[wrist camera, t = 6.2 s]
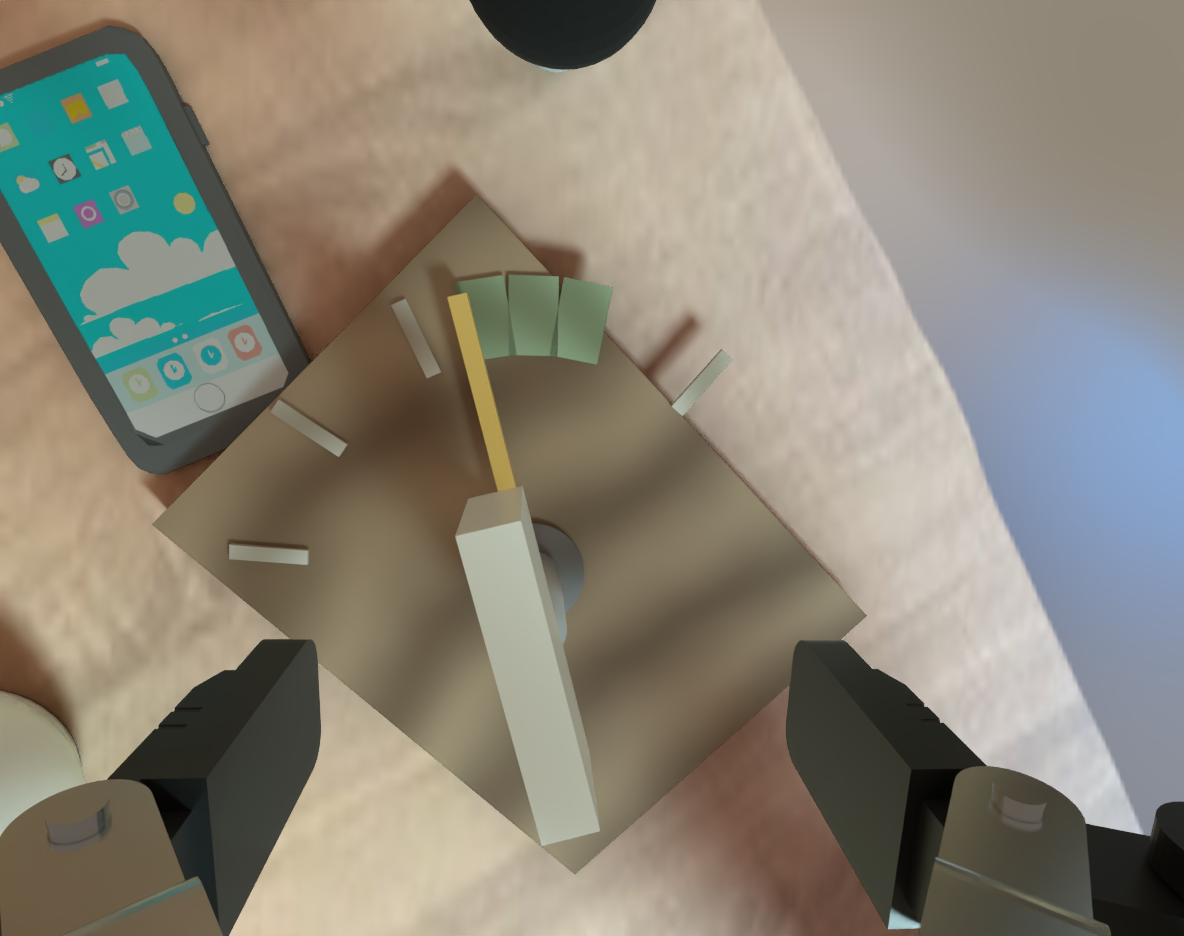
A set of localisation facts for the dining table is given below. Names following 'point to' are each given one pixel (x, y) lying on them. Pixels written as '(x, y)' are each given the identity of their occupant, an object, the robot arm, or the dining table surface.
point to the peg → (523, 624)
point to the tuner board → (559, 517)
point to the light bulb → (563, 28)
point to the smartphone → (138, 250)
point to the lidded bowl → (33, 756)
